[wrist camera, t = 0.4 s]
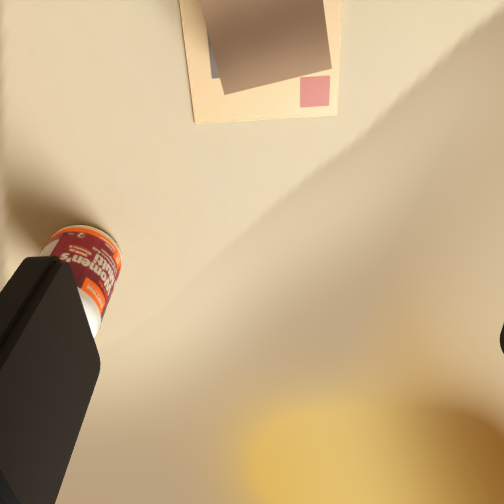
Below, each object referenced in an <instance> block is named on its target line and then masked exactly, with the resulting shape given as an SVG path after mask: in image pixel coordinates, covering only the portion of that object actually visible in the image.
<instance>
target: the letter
mask: <svg viewBox="0 0 504 504" xmlns="http://www.w3.org/2000/svg"><path fill="white" fill-rule="evenodd" d="M179 2H180V10H181V18H182V26H183V33H184V41H185V49H186V57H187V65H188V73H189V80H190V88H191V96H192V104H193V112H194V120H195V124H204V123H220V122H236V121H252V120H268V119H285V118H301V117H317V116H333V115H337V110H338V89H339V67H340V46H341V25H342V4H343V0H323V4H324V12H325V19H326V27H327V34H328V42H329V50H330V57H331V65H332V69H329V70H324V71H320V72H316V73H312V74H308V75H304V76H300V77H296V78H292V79H288V80H284V81H280V82H276V83H272V84H268V85H264V86H260V87H255V88H251V89H247V90H243V91H239V92H235V93H231V94H227V95H224V92H223V88H222V84H221V80H220V77H219V73H218V69H217V65H216V61H215V58H214V54H213V50H212V46H211V43H210V39H209V35H208V31H207V27H206V24H205V20H204V16H203V12H202V9H201V5H200V1H199V0H179Z"/></svg>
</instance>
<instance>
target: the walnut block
mask: <svg viewBox="0 0 504 504" xmlns="http://www.w3.org/2000/svg"><path fill="white" fill-rule="evenodd" d="M199 1H200V5H201V9H202V12H203V16H204V20H205V24H206V27H207V31H208V35H209V39H210V43H211V46H212V50H213V54H214V58H215V61H216V65H217V69H218V73H219V77H220V80H221V84H222V88H223V92H224V95H227V94H231V93H235V92H239V91H243V90H247V89H251V88H255V87H260V86H264V85H268V84H272V83H276V82H280V81H284V80H288V79H292V78H296V77H300V76H304V75H308V74H312V73H316V72H320V71H324V70H329V69H332V65H331V57H330V50H329V42H328V34H327V27H326V19H325V12H324V4H323V0H199Z"/></svg>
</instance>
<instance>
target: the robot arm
mask: <svg viewBox="0 0 504 504" xmlns="http://www.w3.org/2000/svg"><path fill="white" fill-rule="evenodd" d="M500 345H501V349H502V351H503V353H504V325H503V328H502V331H501V334H500ZM99 372H100V358H99V353H98V350H97V347H96V344H95V341H94V338H93V335H92V332H91V329H90V326H89V322H88V319H87V316H86V313H85V310H84V307H83V304H82V301H81V298H80V294H79V291H78V288H77V285H76V282H75V279H74V276H73V273H72V270H71V267H70V265H69V264H68V263H67V262H61V260H60V258H59V257H57V256H39V257H27V258H25V259H24V260H23V262H22V263H21V264H20V266H19V267H18V269H17V270H16V271H15V273H14V274H13V276H12V277H11V278H10V280H9V281H8V282H7V284H6V285H5V287H4V288H3V289H2V291H1V292H0V504H55V502H56V499H57V496H58V493H59V490H60V487H61V484H62V481H63V478H64V475H65V472H66V469H67V466H68V464H69V460H70V457H71V455H72V452H73V449H74V446H75V443H76V440H77V437H78V434H79V431H80V428H81V426H82V423H83V420H84V417H85V414H86V411H87V408H88V405H89V402H90V399H91V396H92V393H93V390H94V387H95V385H96V381H97V379H98V375H99Z"/></svg>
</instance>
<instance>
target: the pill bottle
mask: <svg viewBox="0 0 504 504" xmlns="http://www.w3.org/2000/svg"><path fill="white" fill-rule="evenodd" d="M39 256H57V257H59V258H60V260H61V262H67V263H68V264H69V265H70V267H71V270H72V273H73V276H74V279H75V282H76V285H77V288H78V291H79V294H80V298H81V301H82V304H83V307H84V310H85V313H86V316H87V319H88V322H89V326H90V329H91V332H92V335H93V338H94V337H95V335H96V334H97V332H98V329H99V327H100V325H101V322H102V318H103V316H104V313H105V310H106V308H107V305H108V302H109V300H110V297H111V294H112V292H113V289H114V287H115V284H116V281H117V278H118V276H119V273H120V270H121V267H122V255H121V252H120V249H119V247H118V246H117V244H116V243H115V241H114V240H113V239H112V238H111V237H110V236H109V235H107V234H106V233H104V232H103V231H101V230H99V229H96V228H94V227H91V226H87V225H72V226H68V227H64V228H62V229H60V230H59V231H57V232H56V233H55V234H53V236H52V237H51V238H50V240H49V241H48V242H47V244H46V246H45V247H44V249H43V250H42V252H41V253H40V255H39ZM39 256H38V257H39Z"/></svg>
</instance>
